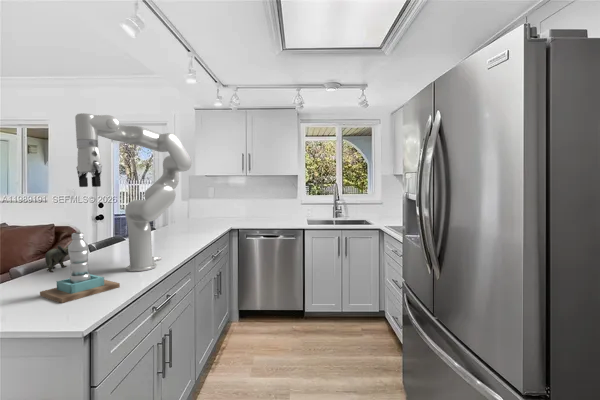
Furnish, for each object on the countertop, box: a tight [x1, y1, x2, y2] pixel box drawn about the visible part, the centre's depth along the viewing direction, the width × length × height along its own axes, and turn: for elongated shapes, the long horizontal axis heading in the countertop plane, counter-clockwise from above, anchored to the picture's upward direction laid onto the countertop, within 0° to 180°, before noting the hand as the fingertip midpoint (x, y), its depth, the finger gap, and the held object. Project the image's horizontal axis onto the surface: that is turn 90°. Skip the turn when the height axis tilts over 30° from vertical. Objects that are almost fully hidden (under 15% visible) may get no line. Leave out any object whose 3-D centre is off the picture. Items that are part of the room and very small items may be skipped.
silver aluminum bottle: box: [67, 232, 91, 284], centre depth 130 cm, size 6×7×20 cm
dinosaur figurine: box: [42, 244, 70, 273], centre depth 164 cm, size 22×8×11 cm, turn 179°
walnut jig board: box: [39, 273, 121, 304], centre depth 131 cm, size 20×16×4 cm
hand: (89, 186), depth 146 cm, fingers open, 9 cm apart
